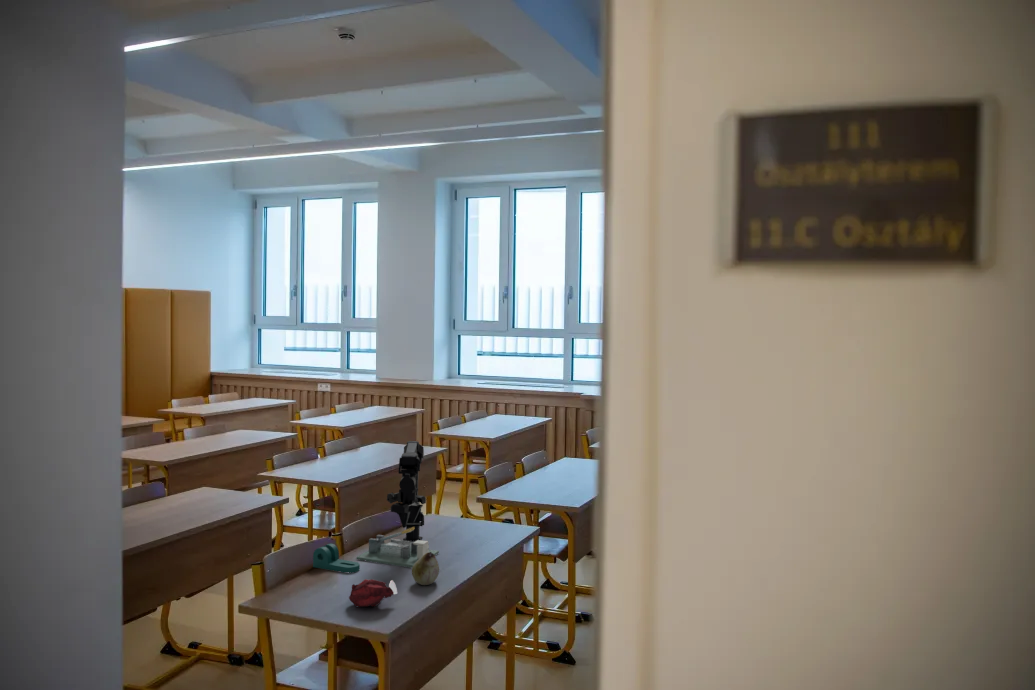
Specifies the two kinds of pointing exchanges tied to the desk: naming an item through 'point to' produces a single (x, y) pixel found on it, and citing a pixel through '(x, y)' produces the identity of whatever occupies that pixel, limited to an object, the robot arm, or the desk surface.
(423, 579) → the fruit
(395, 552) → the grey rail mechanism
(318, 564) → the bracket
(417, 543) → the white block
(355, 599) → the red meat drumstick
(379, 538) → the gold-ended metal bar
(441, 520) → the desk surface
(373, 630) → the desk surface
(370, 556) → the board
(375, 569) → the desk surface
